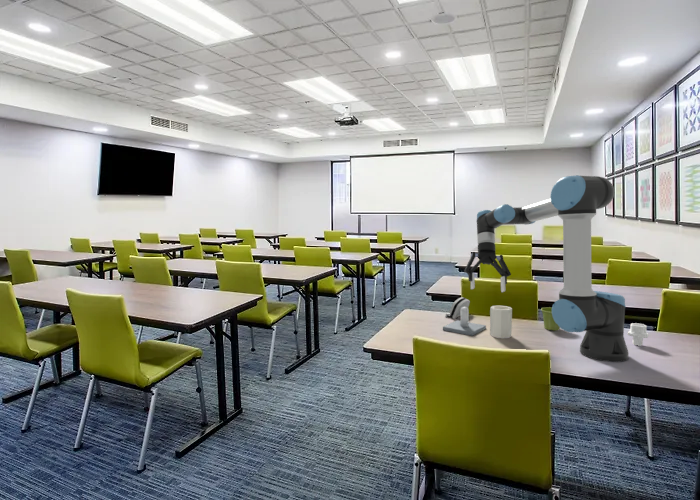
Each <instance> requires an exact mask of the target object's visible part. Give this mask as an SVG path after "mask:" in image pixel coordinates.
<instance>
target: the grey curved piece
mask: <svg viewBox="0 0 700 500" xmlns="http://www.w3.org/2000/svg"><path fill="white" fill-rule="evenodd" d="M470 303H471V301H470V300H469V299H467V298H466V297H463V296H462V297H458V298H457V299H456V300H455V301H454V302H453V303H452V305H451V307H450V309H449V311H448V313H450V314H447V313H445V316H444V317H445V318H447V317H451V318H452V319H457V318H458V317H461V308H462V307H467V308H468V309H469V306H470Z"/></svg>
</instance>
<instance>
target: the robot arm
mask: <svg viewBox="0 0 700 500" xmlns="http://www.w3.org/2000/svg"><path fill="white" fill-rule="evenodd" d="M552 186H553V187H552V189H551V191H550V198H546V199H544V200H541V201H538V202H535V203H532V204H529V205H526V206H521V207H520V206H519V207H514V206H512V205H510V204H505V203H504V204H502V205H500V206H497V207H496V208H495V209H493V210H489V209H483V210H480V211H479V212H477V215H476V235H477V236H476V238H477V240H476V241H477V253H476V252H475V251H473V252H471V254H470V258H469V261H468V262H467V265H466V266H465V268H464V270H463V273H466V274H467V276H468V278H467V279H468V282H470V290H474V289H475V288H476V286H475V285H476V283H475V278H476V277H475V273H474V271H475V270H476V269H478V268H479V266H480V265H481V264H482V265H488V266H489V265H491V266H492V267H493V268H494V269H495V270H496V271H497V273H498V274H499V275H500V276H501V277H500V291H501V292H500V293H504V292H506V291H507V290H506V285H507V284H508V277H510V276H511V275H512V273H511V272H510V271H511V270H510V269H509V266H507V264H506V262H505V260H504V255H503V254H500V255H497V254H496V244H495V243H496V233H495V231H496V230H495V229H498V228H499V227H501V226H505V225H507V226H509V225H525V226H526V225H533V224H535V223H536V222H538V221H541V220H542V221H543V220H546V219H549V218H554V217H557V216H558V217H559V218H560V219H561V221H562V236H563V237H562V239H563V241H562V242H563V244H562V245H563V246H562V248H563V249H562V250H563V252H562V253H563V256H562V257H563V266H562V267H563V288H562V289H561V290H560V291H558V299H557V300H556V301H554V303H553V304H552V307H551V308H552V316H553V319H554V321H555V323H556V324H558V326H559V327H560V329H561V330H563V331H565V332H568V333H582V332H585V334H584V336H583V338H582V340H581V342H580V347H579V352H580V354H582V355H583V356H585V357H588V358H591V359H593V360H598V361H604V362H611V363H612V362H613V363H614V362H625V361H628V359H629V349H628V347H627V344H626V341H625V340H626V339H625V337H624V333H625V332H624V331H625V318H626V317H625V316H626V315H625V314H626V307H627V306H626V298H625V296H623V295H622V294H618V293H612V292H607V291H598V290H594V289H593V288H592V283H593V282H592V219H593V218H594V217H595V216H596V215H597V210H599V209H603V208H605V207H607V206H608V205H610V203H611V202H612V201H613V199H614V197H615V188H614V185H613V183H612V182H611V181H610V180H609V179H607V178H605V177H603V176H597V175H595V176H592V175H576V174H575V175H567V176H563V177H561V178H560V179H558V180H557V181H556V182H555V184H554V185H552ZM476 258H478V261H477V262H476V263H475V264H474V265H473V262H474V261H475V259H476ZM496 259H497V260H496ZM472 265H473V266H472ZM471 266H472V267H471Z"/></svg>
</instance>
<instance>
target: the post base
mask: <svg viewBox="0 0 700 500" xmlns="http://www.w3.org/2000/svg"><path fill="white" fill-rule="evenodd" d="M469 311H470V310H469V307H468V308H467V307H462V308H461V315H460V320H458V319H457V320H455V321H453V322H450V323H449V324H446V325H444V326H442V330H443V331H446V332H452V333H456V334H461V335H467V336H471V337H472V336H475V335H477V334H478V333H481V332H482V331H484V330H486V329H487V325H486V324H481V323H475V322H469V315H470V313H469Z"/></svg>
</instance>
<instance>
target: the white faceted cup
mask: <svg viewBox="0 0 700 500" xmlns="http://www.w3.org/2000/svg"><path fill="white" fill-rule="evenodd" d="M489 315H490V316H489V336H491V337H493V338H497V339H509V338H511V337H512V328H513V327H512V326H513V325H512V323H513V321H512V319H513V308H512V307H511V306H507V305H492V306H490V310H489Z"/></svg>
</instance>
